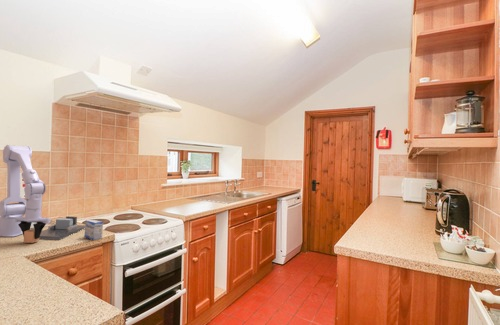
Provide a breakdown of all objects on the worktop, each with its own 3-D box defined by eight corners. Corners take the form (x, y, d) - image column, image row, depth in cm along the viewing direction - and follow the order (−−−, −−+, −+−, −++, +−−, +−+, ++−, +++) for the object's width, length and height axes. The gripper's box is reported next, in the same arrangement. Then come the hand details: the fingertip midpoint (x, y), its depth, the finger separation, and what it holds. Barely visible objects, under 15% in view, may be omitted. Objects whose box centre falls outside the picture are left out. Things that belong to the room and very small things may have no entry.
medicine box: (83, 237, 138) (85, 220, 138) (92, 235, 142) (93, 219, 142) (93, 240, 135) (94, 222, 135) (102, 238, 139) (103, 221, 139)
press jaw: (55, 228, 145) (56, 219, 145) (65, 225, 154) (65, 216, 154) (69, 229, 146) (69, 220, 146) (78, 225, 154) (78, 216, 154)
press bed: (28, 238, 131) (29, 231, 131) (60, 227, 156) (61, 220, 156) (59, 240, 132) (59, 232, 132) (86, 228, 157) (86, 222, 157)
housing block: (23, 242, 124) (24, 229, 124) (30, 239, 128) (30, 227, 128) (32, 242, 124) (33, 229, 124) (39, 240, 128) (39, 227, 128)
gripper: (9, 209, 122) (7, 239, 122) (44, 210, 123) (42, 241, 123) (22, 206, 129) (20, 235, 129) (54, 208, 130) (52, 237, 130)
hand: (31, 238), depth 126 cm, fingers closed on housing block, 4 cm apart
